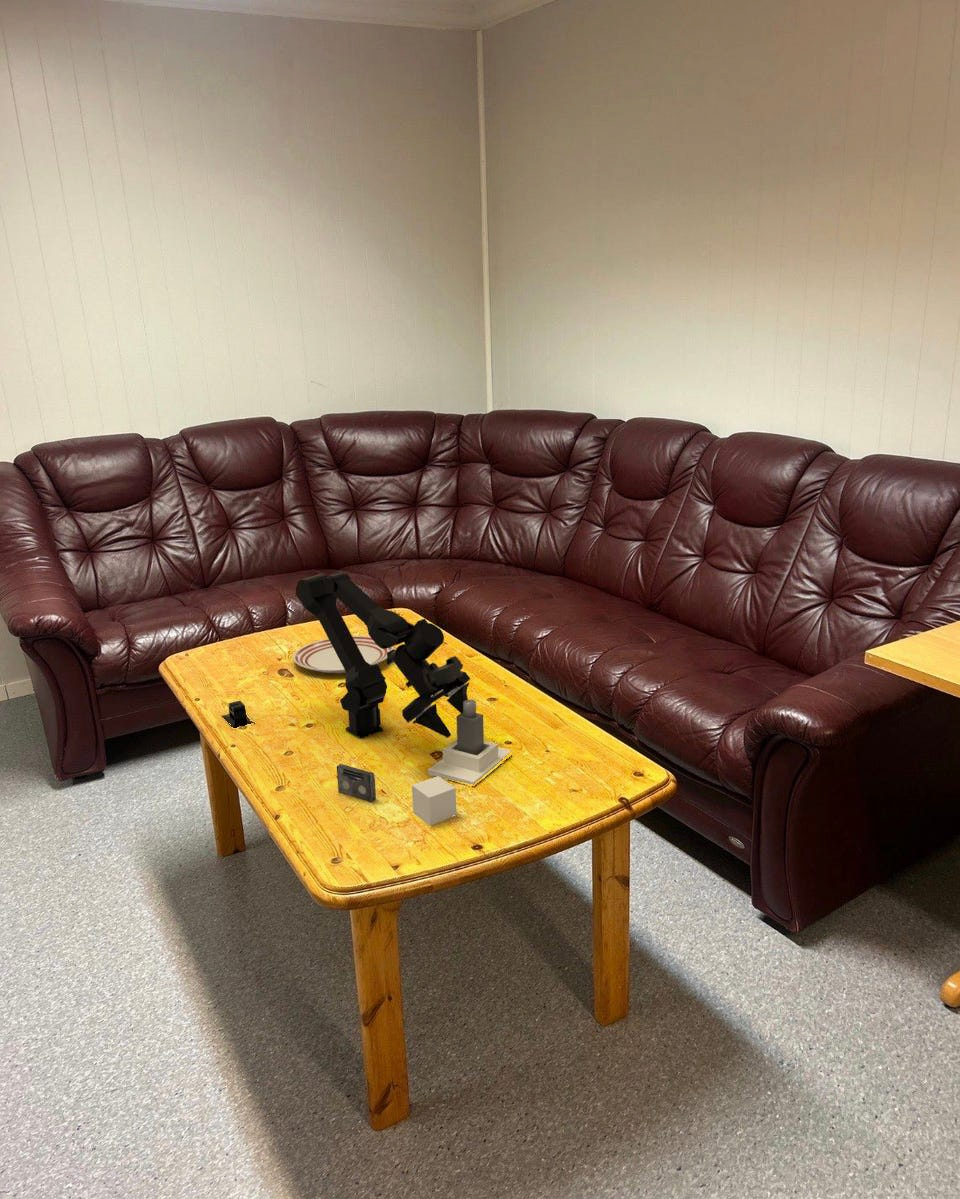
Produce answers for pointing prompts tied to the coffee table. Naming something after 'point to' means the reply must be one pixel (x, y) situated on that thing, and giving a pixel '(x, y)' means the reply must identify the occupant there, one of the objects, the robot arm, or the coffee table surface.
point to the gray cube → (434, 800)
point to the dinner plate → (326, 659)
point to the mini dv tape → (356, 783)
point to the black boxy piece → (237, 715)
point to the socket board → (467, 763)
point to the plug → (470, 729)
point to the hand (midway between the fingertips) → (461, 728)
